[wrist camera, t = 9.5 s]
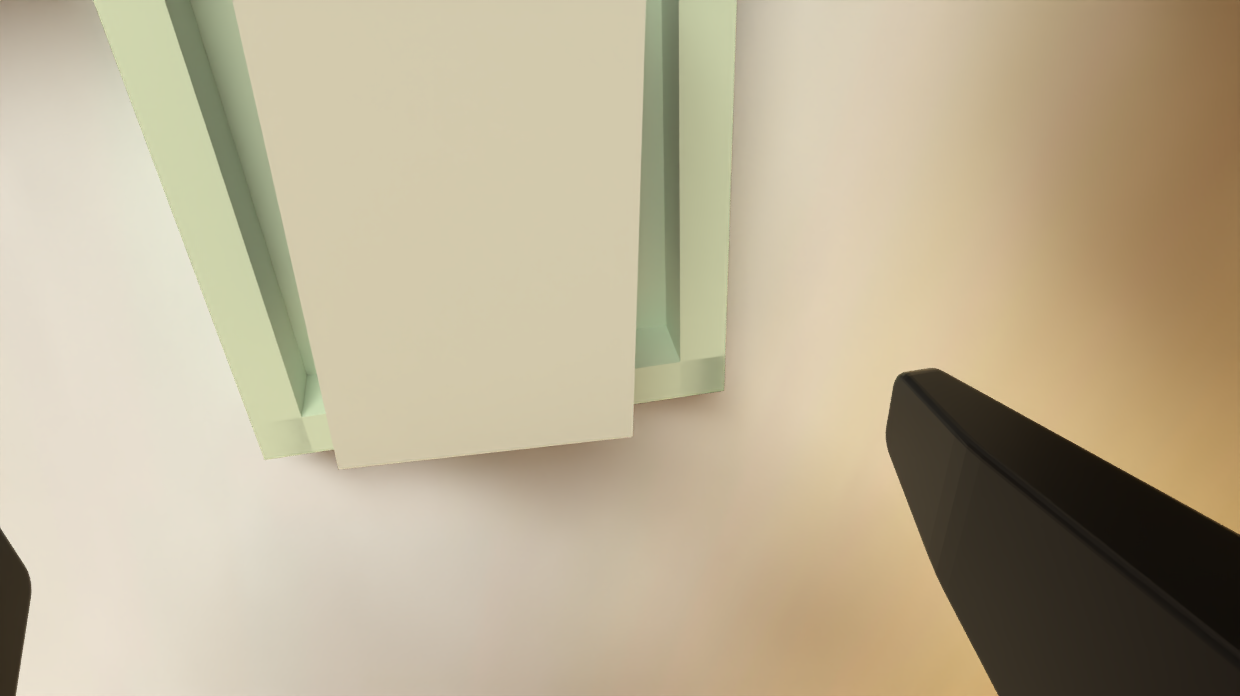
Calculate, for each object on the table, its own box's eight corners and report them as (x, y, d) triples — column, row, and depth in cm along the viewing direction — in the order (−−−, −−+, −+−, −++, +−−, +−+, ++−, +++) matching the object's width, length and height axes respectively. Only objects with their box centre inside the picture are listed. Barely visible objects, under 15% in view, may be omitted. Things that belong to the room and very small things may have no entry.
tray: (711, -407, 14) (750, -413, 13) (701, 338, 23) (724, 390, 21) (8, -373, 13) (-47, -375, 11) (275, 400, 22) (264, 460, 20)
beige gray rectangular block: (586, -192, 15) (649, -132, 11) (589, 283, 20) (633, 436, 16) (259, -190, 14) (203, -125, 10) (352, 303, 20) (338, 469, 16)
